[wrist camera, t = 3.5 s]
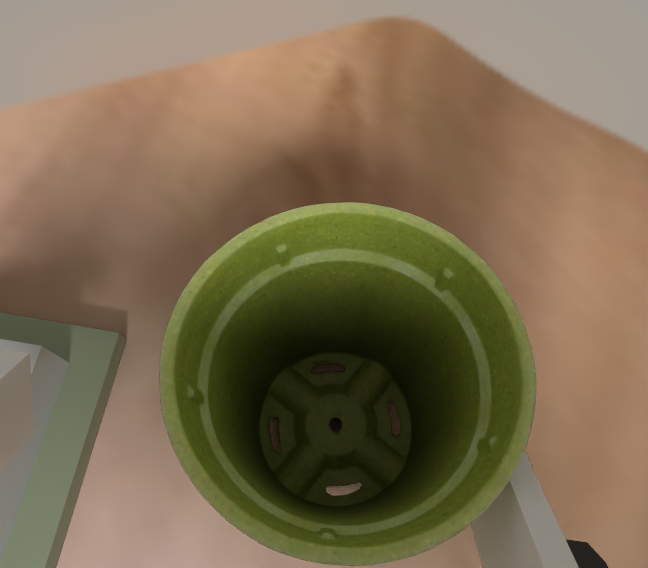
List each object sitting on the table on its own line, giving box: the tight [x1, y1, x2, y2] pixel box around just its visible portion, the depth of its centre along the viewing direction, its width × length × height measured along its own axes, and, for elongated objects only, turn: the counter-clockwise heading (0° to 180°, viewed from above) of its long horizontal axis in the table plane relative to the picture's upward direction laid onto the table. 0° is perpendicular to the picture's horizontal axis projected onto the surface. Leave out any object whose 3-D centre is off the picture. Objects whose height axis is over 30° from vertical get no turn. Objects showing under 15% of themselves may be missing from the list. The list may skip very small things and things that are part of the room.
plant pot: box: [159, 202, 536, 566], centre depth 18 cm, size 9×9×9 cm
